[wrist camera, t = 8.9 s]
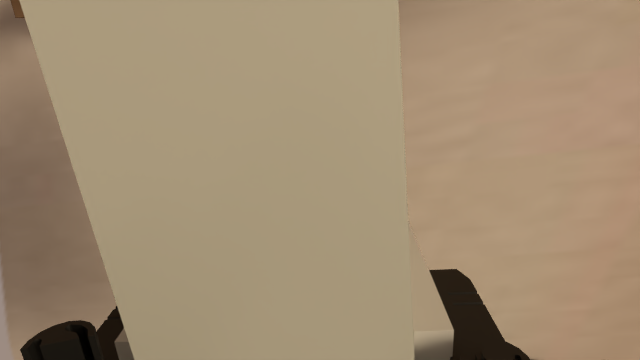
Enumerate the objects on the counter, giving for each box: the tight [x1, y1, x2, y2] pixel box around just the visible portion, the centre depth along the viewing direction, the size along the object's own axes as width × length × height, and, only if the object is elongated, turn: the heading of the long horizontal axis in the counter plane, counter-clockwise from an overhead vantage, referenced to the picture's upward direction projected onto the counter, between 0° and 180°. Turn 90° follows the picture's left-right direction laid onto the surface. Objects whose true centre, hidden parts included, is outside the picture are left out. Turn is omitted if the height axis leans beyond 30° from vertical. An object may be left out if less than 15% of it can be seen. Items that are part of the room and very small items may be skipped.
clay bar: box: [19, 0, 415, 360], centre depth 12 cm, size 16×5×8 cm, turn 6°
